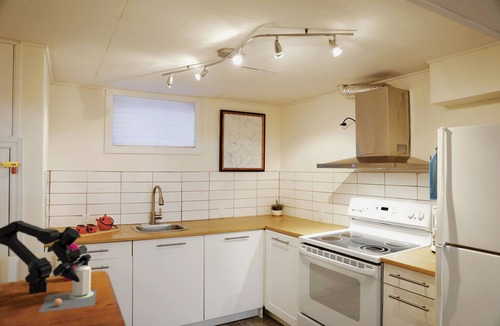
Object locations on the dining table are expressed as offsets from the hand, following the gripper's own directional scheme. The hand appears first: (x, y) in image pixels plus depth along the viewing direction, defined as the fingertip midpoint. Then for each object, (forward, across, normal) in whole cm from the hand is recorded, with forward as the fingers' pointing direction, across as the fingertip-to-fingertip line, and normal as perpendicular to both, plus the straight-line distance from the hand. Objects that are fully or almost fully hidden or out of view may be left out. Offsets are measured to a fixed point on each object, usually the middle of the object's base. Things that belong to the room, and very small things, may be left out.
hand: (84, 278), depth 152 cm
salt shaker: (+3, 0, +5) cm, 6 cm away
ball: (+2, -13, +6) cm, 14 cm away
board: (+4, -6, +7) cm, 11 cm away
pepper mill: (-10, +22, +22) cm, 33 cm away
